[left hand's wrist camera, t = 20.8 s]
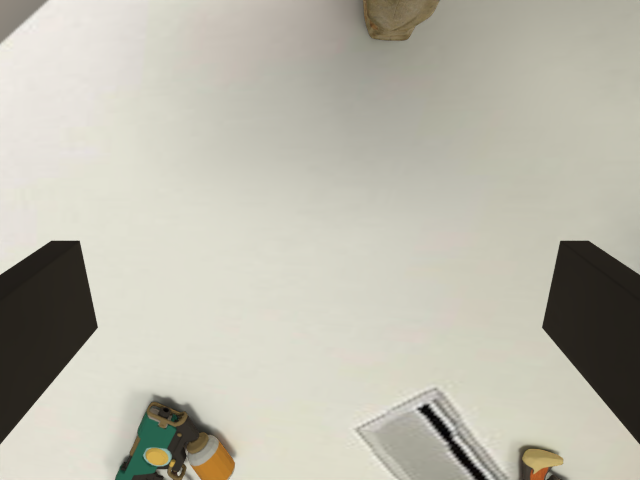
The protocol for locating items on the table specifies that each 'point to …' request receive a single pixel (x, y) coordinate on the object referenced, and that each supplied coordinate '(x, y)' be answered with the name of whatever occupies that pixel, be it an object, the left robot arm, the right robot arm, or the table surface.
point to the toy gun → (539, 464)
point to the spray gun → (174, 449)
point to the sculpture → (396, 17)
